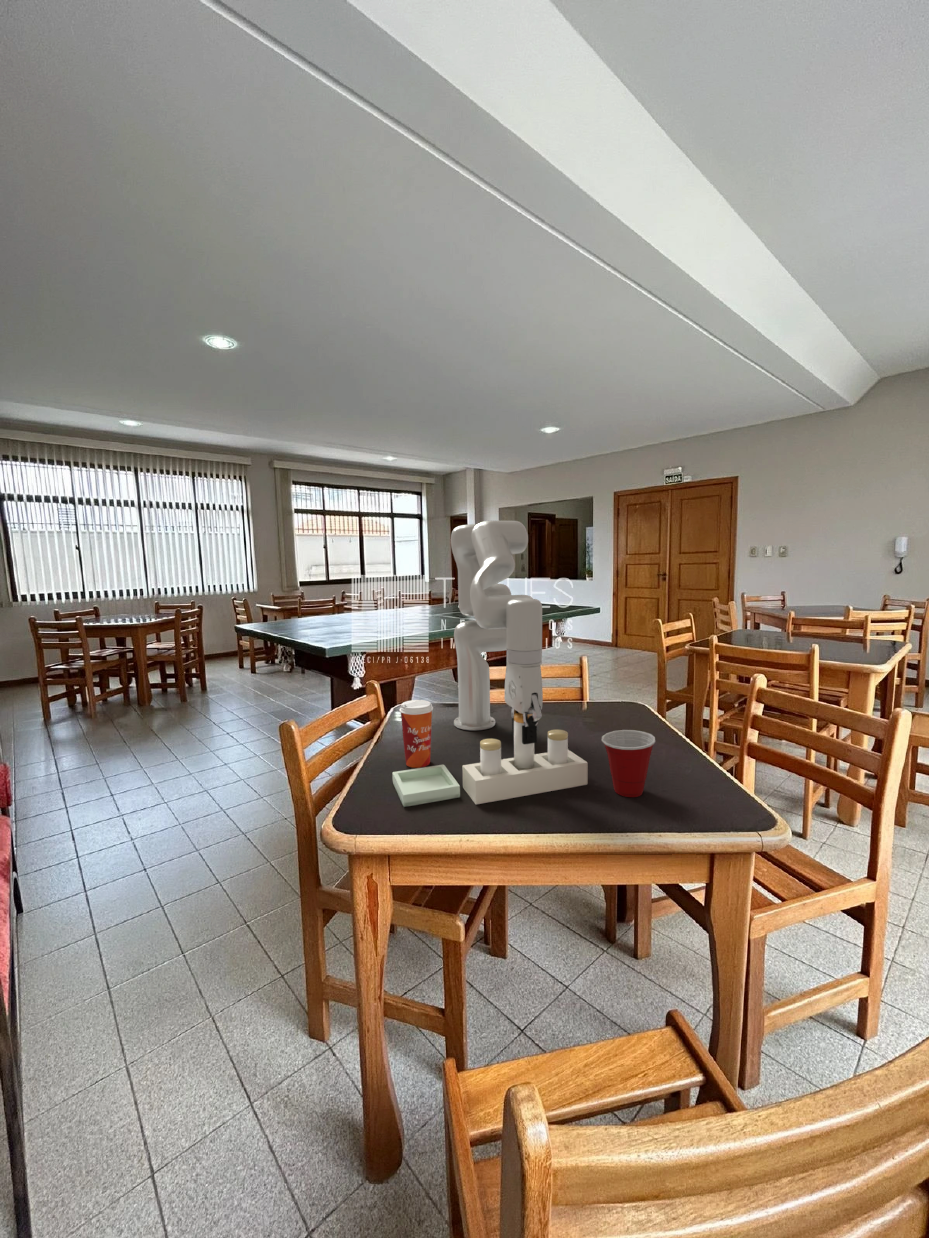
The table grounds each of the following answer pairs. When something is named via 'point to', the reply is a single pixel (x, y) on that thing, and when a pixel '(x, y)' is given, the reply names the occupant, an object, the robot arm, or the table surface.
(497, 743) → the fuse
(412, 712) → the coffee cup
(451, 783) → the tray
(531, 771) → the holder
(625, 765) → the plastic cup
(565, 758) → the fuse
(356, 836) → the table surface
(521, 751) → the white and orange cylinder
